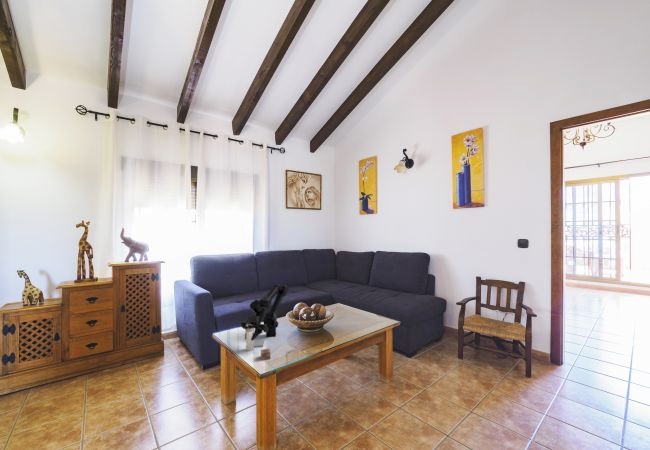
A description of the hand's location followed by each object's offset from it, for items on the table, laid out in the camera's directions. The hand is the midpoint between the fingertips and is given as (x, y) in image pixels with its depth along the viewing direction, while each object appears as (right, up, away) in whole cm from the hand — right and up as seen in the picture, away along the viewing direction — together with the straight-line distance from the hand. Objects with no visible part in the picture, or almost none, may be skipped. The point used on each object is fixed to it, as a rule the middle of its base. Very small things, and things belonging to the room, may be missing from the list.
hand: (248, 339), depth 172 cm
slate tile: (+2, -7, +9) cm, 12 cm away
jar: (+1, -7, +1) cm, 7 cm away
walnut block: (+13, -7, -10) cm, 17 cm away
